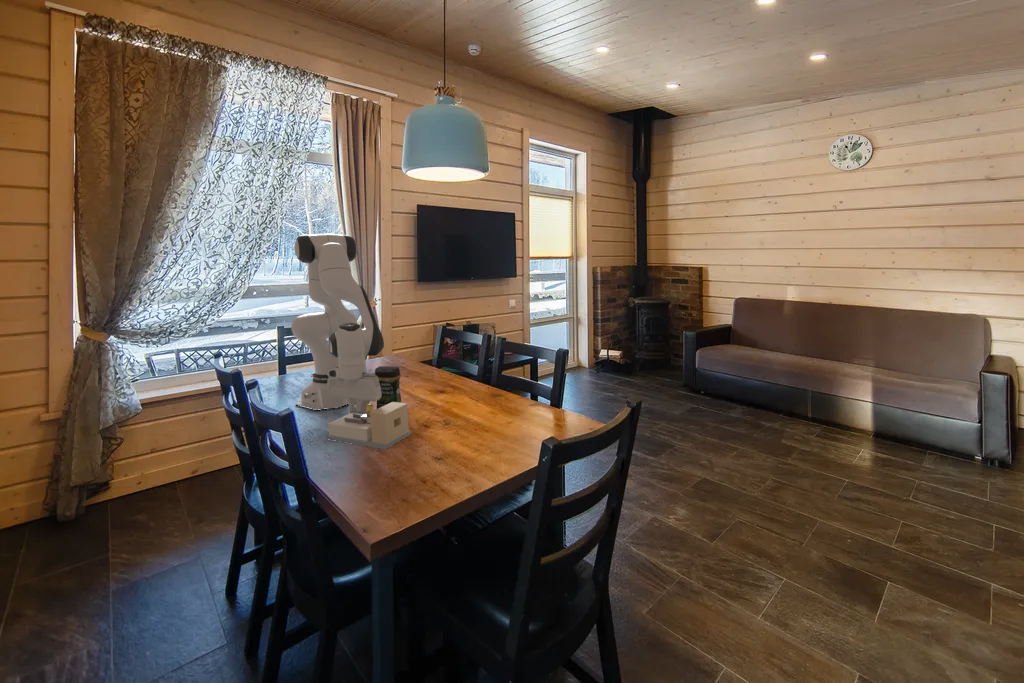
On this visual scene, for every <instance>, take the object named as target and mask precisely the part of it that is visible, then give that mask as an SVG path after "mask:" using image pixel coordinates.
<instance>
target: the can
mask: <svg viewBox="0 0 1024 683" xmlns="http://www.w3.org/2000/svg"><path fill="white" fill-rule="evenodd" d="M354 402H355V405H357V402H356V399H354ZM370 402H371V401H365V400H363V402H362V404H361V410H360V411H351V406H350V405H349V404H348V407H349V408H348V409H349V414H351V413H357V414H366V404H370Z"/></svg>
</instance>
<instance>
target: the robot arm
mask: <svg viewBox="0 0 1024 683" xmlns="http://www.w3.org/2000/svg"><path fill="white" fill-rule="evenodd" d="M295 239H296V240H295V243H294V246H293V248H294V254H295V255H296V258H297V259H298V261H299V262H301V263H304V264H308V268H307V269H308V270H307V273H308V274H307V275H308V279H307V280H308V295H309V297H310V299H311V300H312V301H313V302H315V303H317V304H318V305H321V306H323V307H324V311H322V312H321V311H319V312H308V313H304V314H301V315H297V316H295V317H294V318H293V319H292V323H291V333H292V335H293V336H294V337H295V338H296V339H297V340H299V341H300V342H302V343H303V344H305V346H307V348H308V350H309V351H310V353H311V354H312V359H313V365H314V373H310V378H312V381H311V382H309V384H308V385H307V386H306V387H304V388H302V391H301V394H300V396H301V397H300V400H298V401H297V402H295V405H296V404H297V405H301V406H305V407H309V408H312V409H316V410H318V409H324V408H335V407H340V408H342V407H341V406H344V405H346V406H349V405H350V406H351V411H360V410H361V404H362V402H363V400H365V401H369V402H377V400H379V399H380V398H381V397H382V394H381V388H380V383H379V378H378V377H377V376H376V375H375V373H369V372H367V370H368V369H367V360H366V358H365V356H366V357H375V356H378V355H379V354H380V353H381V352H382V350H383V349H384V348H385V341H384V337H383V334H382V332H381V330H380V327H379V325H378V322H377V320H376V317H375V314H374V312H373V308H372V305H371V302H370V299H369V297H368V294H367V293H366V290H365V288H364V286H362V285H360V284H358V283H357V281H356V280H355V278H354V277H353V273H352V267H351V262H353V261H354V260H355V259H356V258H357V253H358V246H357V243H356V240H355V239H354V237H353V236H351V235H348V234H337V233H336V234H335V233H317V234H306V233H305V234H301V235H299V236H298V237H297V238H295ZM343 301H344V302H348V303H350V304H352V305H353V306H355V307H356V309H357V310H358V312H359V315H360V317H361V320H362V323H363V326H364V328H362V326H361V325H360V324H358V319H357V316H356V315H355V313H353V312H352V311H350V310H349V309H348V308H347V307H346V306H345V305H344V303H343ZM327 340H328V341H327ZM328 344H329V345H328ZM354 399H356V402H357V405H355V402H354ZM347 404H348V405H347ZM344 407H345V406H344ZM335 409H336V408H335Z"/></svg>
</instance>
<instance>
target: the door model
mask: <svg viewBox="0 0 1024 683" xmlns="http://www.w3.org/2000/svg"><path fill="white" fill-rule="evenodd" d="M408 410H409V409H408V403H404V402H402V403H398V402H391V403H389V404H387V405H385V406H383V407H380V408H378V409H377V408H376V409H374V411H372V412H370V419H371V423H365V420H360V416H362V415H364V414H357V413H351V414H350V413H348V414H346V415H345V416H341V417H340V418H338V419H337V418H336V420H333V421H331V422H329V423H327V427H328V428H327V429H328V435H326V440H327V439H330V440H336V441H341V442H340V443H342V442H347V443H346V444H348V443H352V444H351V445H354V444H358V445H357V446H360V445H363V446H362V447H366V446H368V447H367V448H372V447H374V449H378V448H381V449H380V450H384V449H386V450H388V449H390V448H391V447H393V446H394V444H395V443H396V444H397V442H398V441H399V442H401V441H403V440H404V439H406V438H408V437H409V436H411V433H412V432H411V430H410V428H409V414H408ZM407 436H408V437H407ZM405 437H406V438H405ZM402 439H403V440H402ZM330 440H329V441H330ZM400 440H401V441H400ZM336 441H335V442H336ZM399 442H398V443H399ZM396 444H395V445H396ZM392 445H393V446H392ZM390 446H391V447H390ZM389 447H390V448H389ZM387 448H388V449H387Z"/></svg>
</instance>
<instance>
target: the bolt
mask: <svg viewBox="0 0 1024 683" xmlns="http://www.w3.org/2000/svg"><path fill="white" fill-rule="evenodd" d="M374 410H375V409H374V403H370V404H366V414H364V415H362V416H360V420H365V423H371V419H370V412H372V411H374Z"/></svg>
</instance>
